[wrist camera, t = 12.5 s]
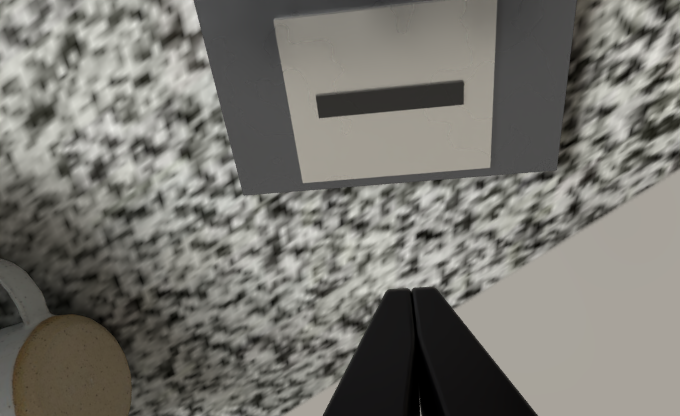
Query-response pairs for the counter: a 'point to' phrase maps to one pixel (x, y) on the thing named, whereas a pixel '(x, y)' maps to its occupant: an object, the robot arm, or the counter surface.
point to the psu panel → (388, 88)
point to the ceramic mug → (57, 359)
